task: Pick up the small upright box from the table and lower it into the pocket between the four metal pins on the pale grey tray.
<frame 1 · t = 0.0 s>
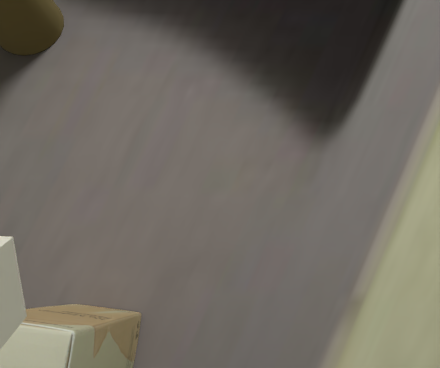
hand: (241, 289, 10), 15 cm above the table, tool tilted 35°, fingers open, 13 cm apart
box: (100, 340, 24), on the table
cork: (30, 27, 31), on the table
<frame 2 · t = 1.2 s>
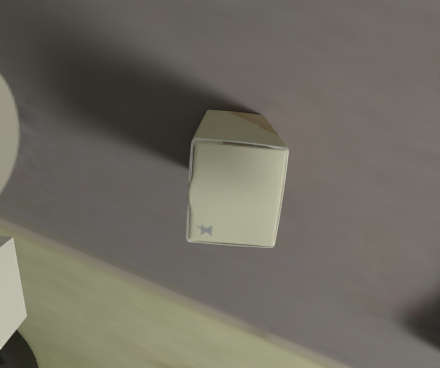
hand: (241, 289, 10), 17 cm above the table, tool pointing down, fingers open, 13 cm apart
box: (231, 143, 26), on the table
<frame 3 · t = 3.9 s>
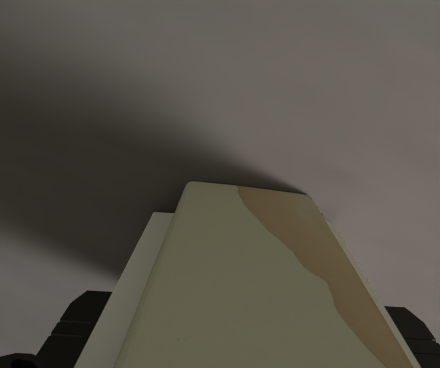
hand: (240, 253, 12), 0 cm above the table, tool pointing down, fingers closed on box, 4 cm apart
box: (239, 246, 13), on the table, touching gripper
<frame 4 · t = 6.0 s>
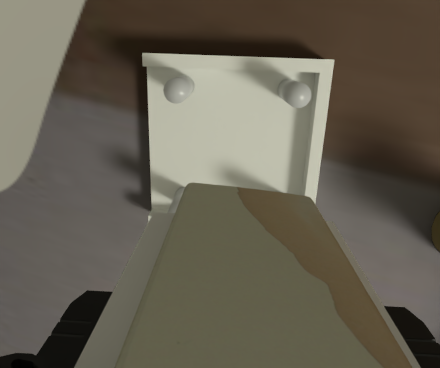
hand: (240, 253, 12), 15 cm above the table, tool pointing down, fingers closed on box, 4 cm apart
box: (239, 247, 13), point 15 cm above the table, touching gripper
tray: (233, 142, 26), on the table
when the fingers open (2 cm above the table, at t = 8.4 s): box drops 1 cm, resting on tray.
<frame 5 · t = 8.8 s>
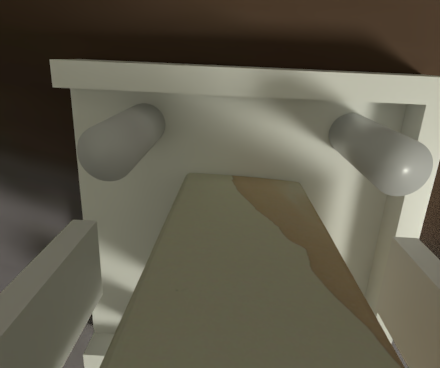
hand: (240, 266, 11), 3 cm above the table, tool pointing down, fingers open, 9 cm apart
box: (236, 231, 14), point 1 cm above the table, touching tray
tray: (239, 221, 14), on the table
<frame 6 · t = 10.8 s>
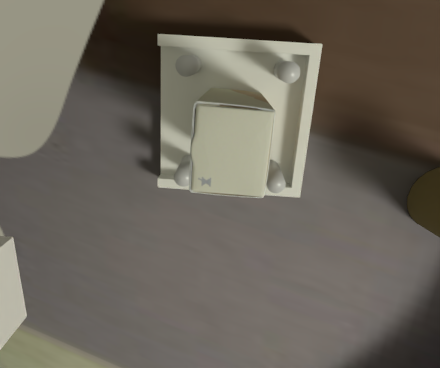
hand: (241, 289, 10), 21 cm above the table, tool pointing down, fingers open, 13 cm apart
box: (232, 118, 29), point 1 cm above the table, touching tray
tray: (233, 116, 30), on the table
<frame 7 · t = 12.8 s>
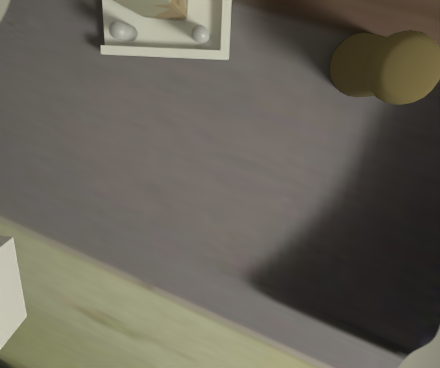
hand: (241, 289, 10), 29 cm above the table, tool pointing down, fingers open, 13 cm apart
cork: (360, 65, 35), on the table
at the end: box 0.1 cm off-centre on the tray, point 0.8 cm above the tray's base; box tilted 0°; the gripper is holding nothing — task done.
